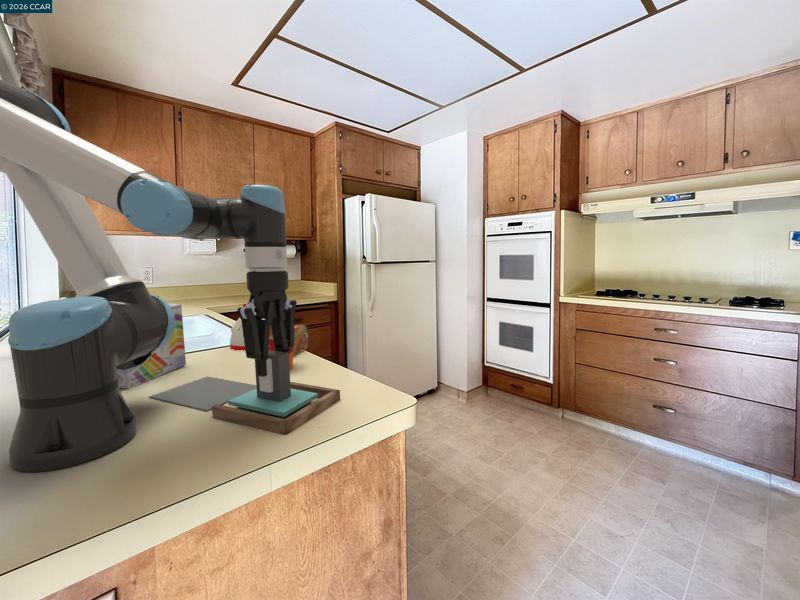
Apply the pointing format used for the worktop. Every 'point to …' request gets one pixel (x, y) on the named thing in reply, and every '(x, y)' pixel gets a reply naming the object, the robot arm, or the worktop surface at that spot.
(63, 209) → the robot arm
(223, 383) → the grey mat
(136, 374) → the cake pan box
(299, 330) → the tin
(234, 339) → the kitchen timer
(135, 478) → the worktop surface
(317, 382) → the worktop surface
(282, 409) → the cover plate
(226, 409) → the walnut frame
